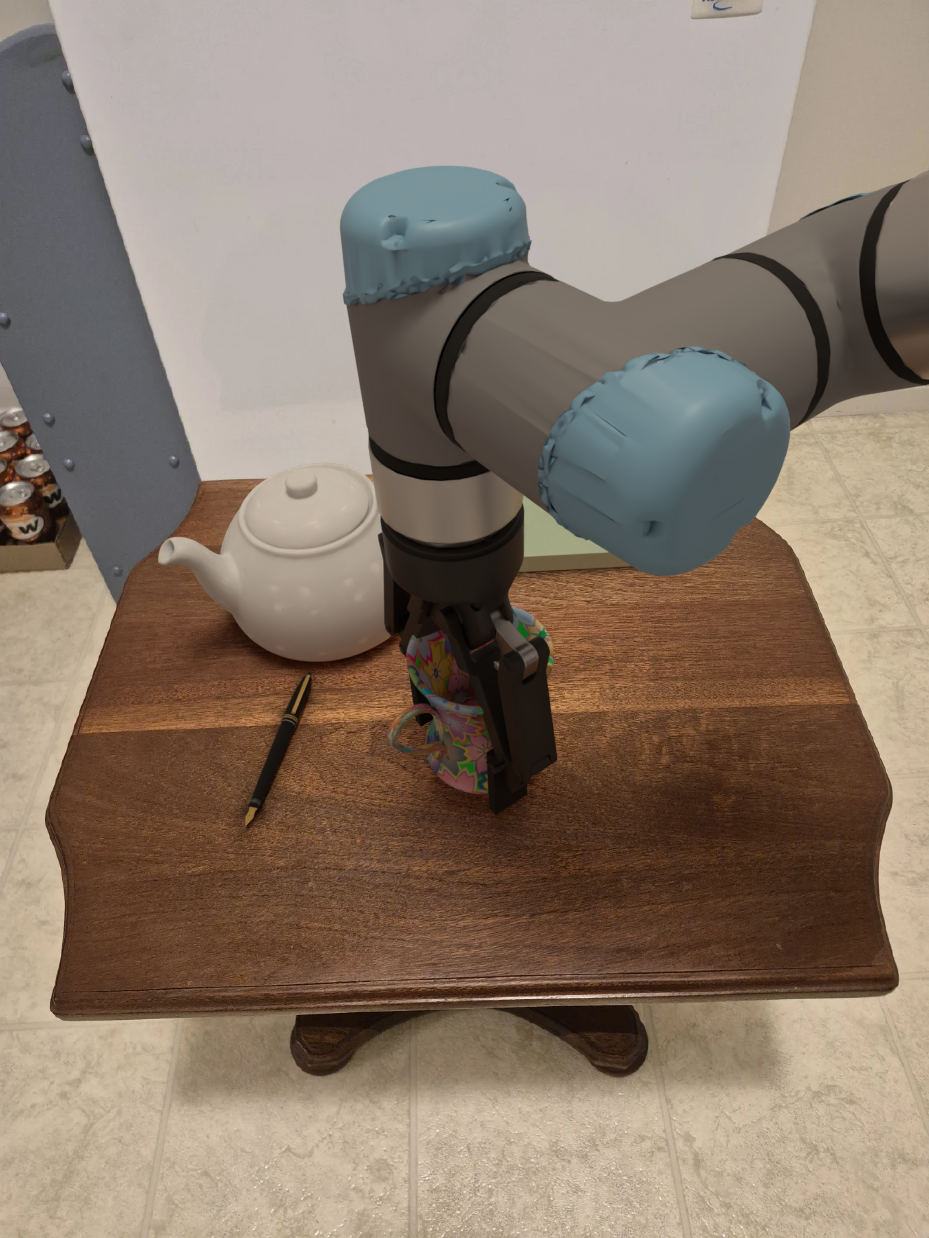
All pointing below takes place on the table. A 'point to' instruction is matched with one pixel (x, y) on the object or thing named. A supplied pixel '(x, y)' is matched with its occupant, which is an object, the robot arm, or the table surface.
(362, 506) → the teapot
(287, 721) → the fountain pen
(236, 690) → the table surface
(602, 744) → the table surface
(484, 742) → the mug
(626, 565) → the scale
